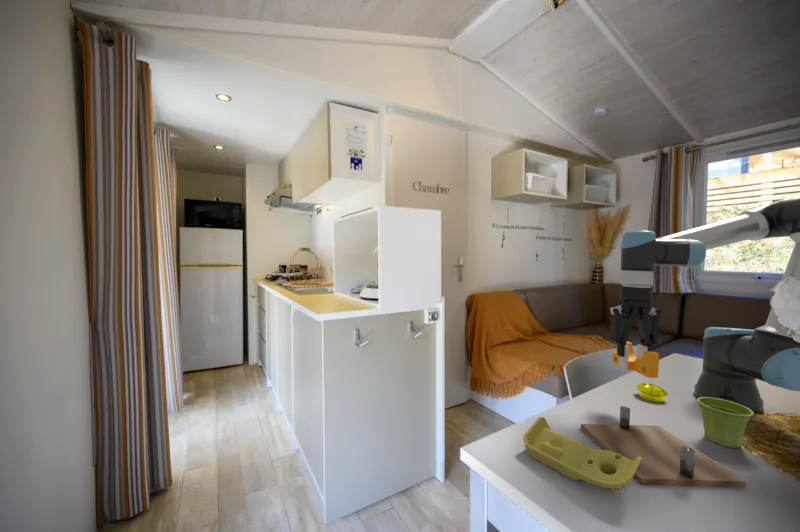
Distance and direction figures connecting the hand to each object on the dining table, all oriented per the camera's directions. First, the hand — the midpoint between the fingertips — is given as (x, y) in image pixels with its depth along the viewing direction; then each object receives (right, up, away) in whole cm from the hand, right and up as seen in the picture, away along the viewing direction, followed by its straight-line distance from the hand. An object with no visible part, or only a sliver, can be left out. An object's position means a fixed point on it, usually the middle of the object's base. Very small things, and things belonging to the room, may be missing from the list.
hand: (632, 367), depth 89 cm
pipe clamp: (0, 0, -1) cm, 1 cm away
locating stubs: (-10, -12, -19) cm, 25 cm away
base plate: (-10, -13, -19) cm, 25 cm away
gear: (+14, -13, +11) cm, 22 cm away
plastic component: (-30, -13, -25) cm, 41 cm away
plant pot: (+12, -14, -13) cm, 22 cm away
